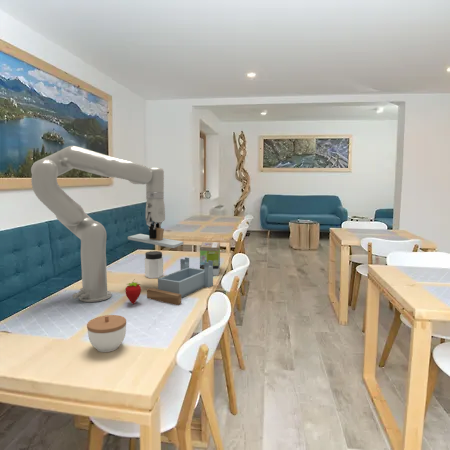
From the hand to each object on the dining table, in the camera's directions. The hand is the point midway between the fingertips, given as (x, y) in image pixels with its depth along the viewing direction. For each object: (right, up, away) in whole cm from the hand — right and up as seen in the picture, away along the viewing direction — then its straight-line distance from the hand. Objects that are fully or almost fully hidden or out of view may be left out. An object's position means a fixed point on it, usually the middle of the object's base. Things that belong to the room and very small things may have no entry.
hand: (154, 237), depth 159 cm
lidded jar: (-3, -30, -55) cm, 63 cm away
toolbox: (+13, -23, -1) cm, 27 cm away
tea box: (+23, -19, +29) cm, 42 cm away
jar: (-4, -20, +21) cm, 29 cm away
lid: (0, -2, 0) cm, 2 cm away
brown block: (+7, -25, -15) cm, 30 cm away
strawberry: (-5, -26, -19) cm, 32 cm away
